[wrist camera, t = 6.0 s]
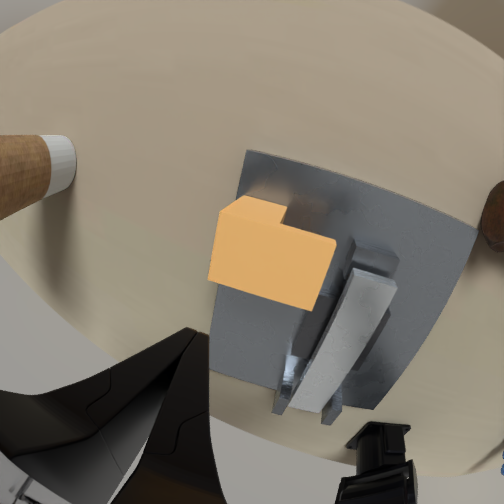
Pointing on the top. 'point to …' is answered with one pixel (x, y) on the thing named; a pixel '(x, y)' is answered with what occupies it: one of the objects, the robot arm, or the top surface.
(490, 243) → the bolt
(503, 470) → the grapes
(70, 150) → the coffee cup
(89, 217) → the top surface
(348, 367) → the strap
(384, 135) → the top surface
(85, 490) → the robot arm
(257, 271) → the block
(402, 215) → the base
